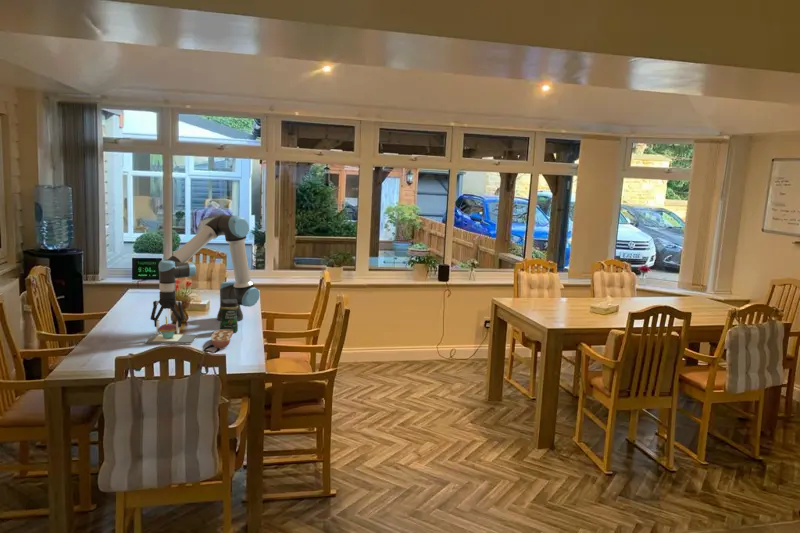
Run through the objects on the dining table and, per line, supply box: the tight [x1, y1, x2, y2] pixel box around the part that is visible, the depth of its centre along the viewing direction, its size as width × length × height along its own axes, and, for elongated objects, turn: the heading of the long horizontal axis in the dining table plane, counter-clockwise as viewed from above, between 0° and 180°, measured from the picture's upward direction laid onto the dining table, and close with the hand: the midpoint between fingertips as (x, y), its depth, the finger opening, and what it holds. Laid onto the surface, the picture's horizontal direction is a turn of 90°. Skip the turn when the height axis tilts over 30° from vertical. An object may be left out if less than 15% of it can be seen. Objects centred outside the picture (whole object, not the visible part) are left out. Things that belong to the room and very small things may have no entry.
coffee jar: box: [219, 299, 239, 334], centre depth 325 cm, size 10×8×19 cm
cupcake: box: [159, 316, 177, 338], centre depth 305 cm, size 9×8×12 cm
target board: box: [145, 333, 198, 345], centre depth 306 cm, size 22×14×2 cm, turn 97°
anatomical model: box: [210, 329, 234, 349], centre depth 303 cm, size 23×10×5 cm, turn 10°
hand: (168, 333), depth 305 cm, fingers open, 9 cm apart
